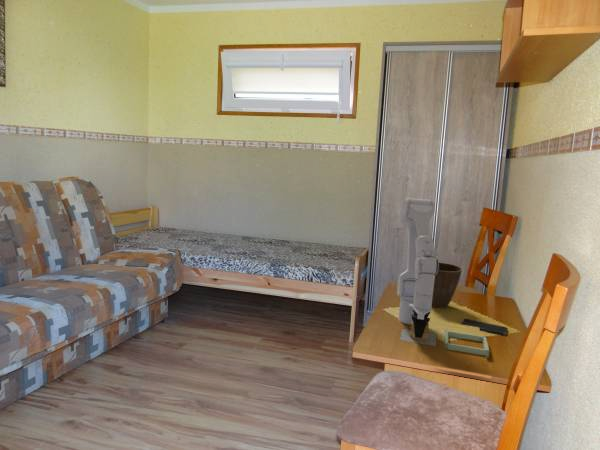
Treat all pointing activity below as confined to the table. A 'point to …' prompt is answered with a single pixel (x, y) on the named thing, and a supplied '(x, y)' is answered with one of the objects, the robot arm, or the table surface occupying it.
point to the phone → (486, 327)
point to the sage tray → (466, 348)
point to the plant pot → (445, 284)
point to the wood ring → (425, 334)
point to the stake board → (430, 340)
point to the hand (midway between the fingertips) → (418, 334)
